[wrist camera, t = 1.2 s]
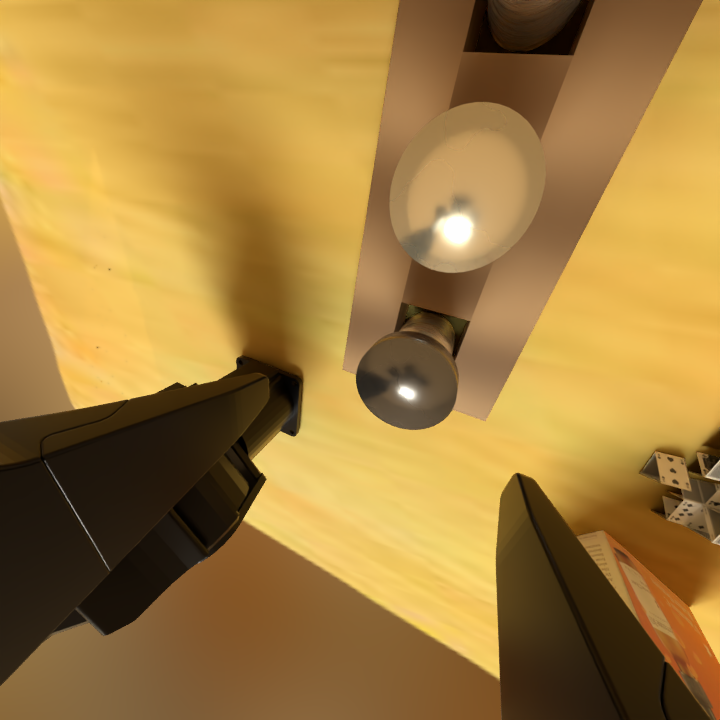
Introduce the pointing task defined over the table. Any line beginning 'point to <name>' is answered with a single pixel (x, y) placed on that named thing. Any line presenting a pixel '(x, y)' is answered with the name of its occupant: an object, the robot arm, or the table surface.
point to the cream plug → (467, 187)
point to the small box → (660, 618)
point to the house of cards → (689, 492)
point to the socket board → (562, 164)
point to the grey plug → (411, 374)
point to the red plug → (528, 21)
